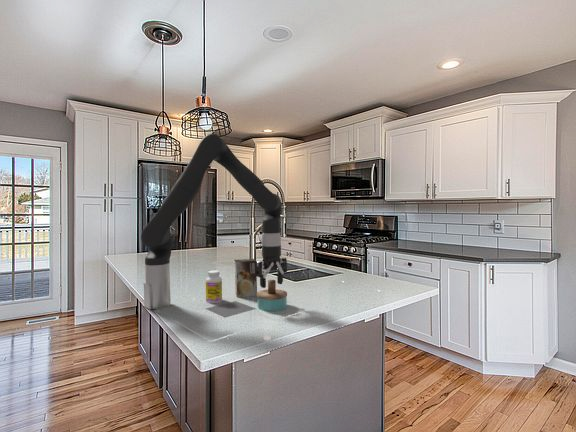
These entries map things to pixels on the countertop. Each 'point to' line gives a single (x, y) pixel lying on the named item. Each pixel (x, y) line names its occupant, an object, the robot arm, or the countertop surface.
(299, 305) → the countertop surface
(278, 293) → the lid
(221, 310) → the mat
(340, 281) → the countertop surface
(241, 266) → the coffee box
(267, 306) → the bowl
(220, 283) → the supplement bottle
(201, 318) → the countertop surface
